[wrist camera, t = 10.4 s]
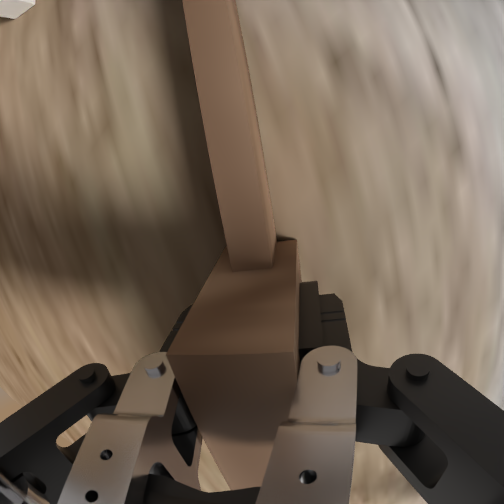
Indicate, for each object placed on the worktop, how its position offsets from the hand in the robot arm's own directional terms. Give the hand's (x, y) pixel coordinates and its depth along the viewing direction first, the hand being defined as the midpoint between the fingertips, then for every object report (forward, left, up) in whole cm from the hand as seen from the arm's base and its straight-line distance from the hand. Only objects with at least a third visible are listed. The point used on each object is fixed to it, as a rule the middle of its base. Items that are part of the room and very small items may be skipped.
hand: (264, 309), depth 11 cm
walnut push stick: (0, -9, -1) cm, 9 cm away
